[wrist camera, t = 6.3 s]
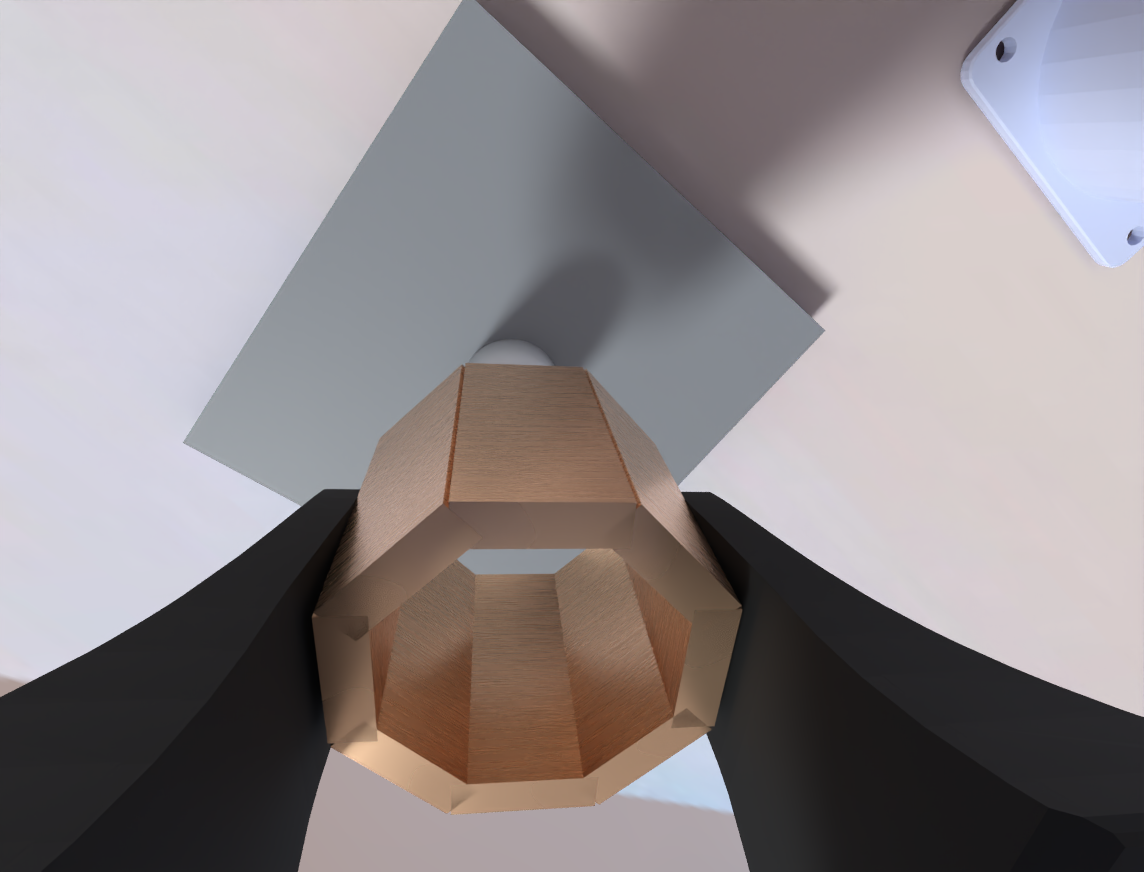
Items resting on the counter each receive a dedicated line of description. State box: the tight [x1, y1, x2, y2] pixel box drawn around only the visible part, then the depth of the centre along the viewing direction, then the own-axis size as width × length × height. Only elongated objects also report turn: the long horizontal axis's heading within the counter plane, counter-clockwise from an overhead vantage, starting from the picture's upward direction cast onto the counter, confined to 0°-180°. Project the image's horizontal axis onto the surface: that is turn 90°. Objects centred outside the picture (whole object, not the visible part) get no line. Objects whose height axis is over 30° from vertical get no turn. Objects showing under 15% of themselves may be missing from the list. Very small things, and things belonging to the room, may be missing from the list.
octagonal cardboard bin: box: [312, 363, 743, 815], centre depth 10 cm, size 5×5×4 cm
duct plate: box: [183, 0, 825, 575], centre depth 16 cm, size 13×12×4 cm
